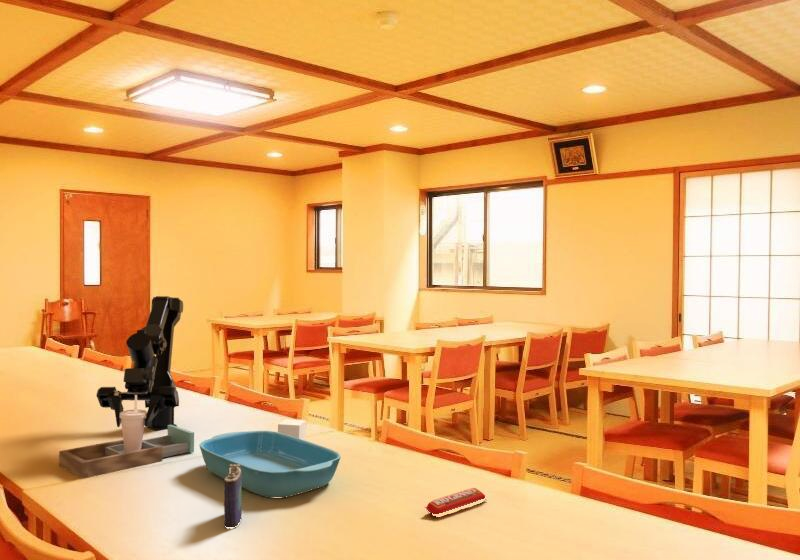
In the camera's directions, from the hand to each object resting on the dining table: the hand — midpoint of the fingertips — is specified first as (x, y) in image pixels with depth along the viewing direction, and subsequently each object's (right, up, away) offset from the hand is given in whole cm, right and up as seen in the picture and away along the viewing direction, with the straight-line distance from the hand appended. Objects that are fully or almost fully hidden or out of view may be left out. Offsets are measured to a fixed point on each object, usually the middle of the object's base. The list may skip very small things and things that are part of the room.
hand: (131, 426), depth 164 cm
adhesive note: (+36, -9, +18) cm, 42 cm away
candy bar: (+77, -11, -28) cm, 83 cm away
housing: (-4, -8, -3) cm, 10 cm away
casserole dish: (+36, -10, -11) cm, 39 cm away
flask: (+34, -10, -37) cm, 51 cm away
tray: (+3, -8, +5) cm, 10 cm away
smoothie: (0, -7, +1) cm, 7 cm away
